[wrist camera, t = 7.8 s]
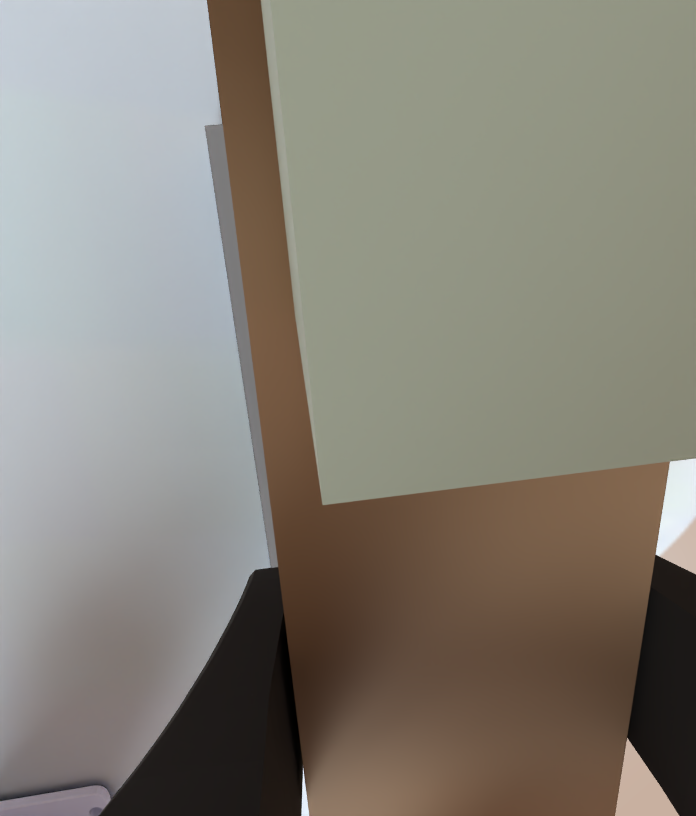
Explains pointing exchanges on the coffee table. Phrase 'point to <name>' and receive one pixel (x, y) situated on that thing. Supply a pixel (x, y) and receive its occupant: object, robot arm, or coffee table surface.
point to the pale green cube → (488, 235)
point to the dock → (239, 315)
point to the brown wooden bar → (432, 572)
